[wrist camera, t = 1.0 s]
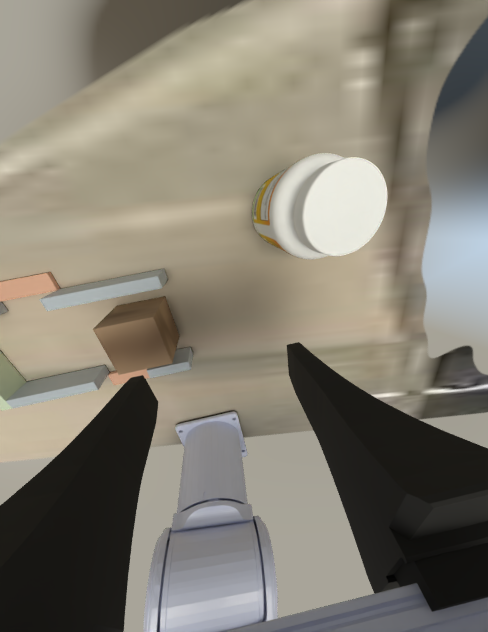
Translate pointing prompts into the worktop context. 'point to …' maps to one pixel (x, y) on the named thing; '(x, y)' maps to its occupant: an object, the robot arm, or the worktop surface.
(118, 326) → the walnut block
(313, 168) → the supplement bottle
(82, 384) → the channel
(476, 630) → the robot arm
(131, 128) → the worktop surface
